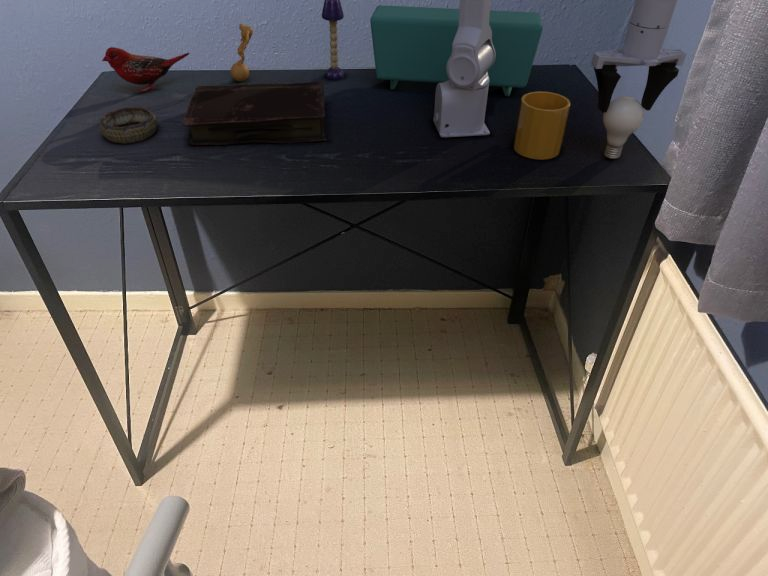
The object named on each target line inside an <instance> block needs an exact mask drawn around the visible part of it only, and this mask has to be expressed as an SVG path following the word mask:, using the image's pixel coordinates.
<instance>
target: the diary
mask: <svg viewBox="0 0 768 576" xmlns="http://www.w3.org/2000/svg"><path fill="white" fill-rule="evenodd" d="M324 90H325V89H324V81H310V82H309V81H308V82H295V83H250V84H235V85H196V87H195V89H194V92H193V94H192V97H191V98H190V101H189V104H188V107H187V109H186V112H185V115H184V119H183V121H182V126H183V127H187V128H190V133H191V134H190V136H189V138H188V140H187V141H186V143H187V144H190V145H194V146H195V145H196V146H197V145H198V146H200V145H201V146H203V145H204V146H206V145H208V146H209V145H211V146H212V145H214V146H217V145H220V146H221V145H222V146H224V145H225V146H226V145H235V144H247V143H249V144H250V143H268V144H269V143H271V144H272V143H273V144H299V143H309V142H320V141H321V142H322V141H327V127H326V125H327V124H326V110H325V109H326V108H325V107H326V106H325V91H324Z"/></svg>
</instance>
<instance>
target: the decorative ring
mask: <svg viewBox="0 0 768 576" xmlns="http://www.w3.org/2000/svg"><path fill="white" fill-rule="evenodd" d="M158 125H159V124H158V119H157V116H156V115H155V114H154V113H153V112H152V111H150V109H146V108H143V107H135V106H134V107H133V106H132V107H123V108H117V109H115V110H113V111H110V112H108V113H106V114H105V115H103V116H102V118H101V119H100V122H99V127H100V128H99V129H100V130H99V131H100V133H101V135H102V136H103V137H104V138H105V139H106V140H107V141H109V142H111V143H114V144H124V145H125V144H134V143H139V142H142V141H145V140H147V139H149V138H151V137H153V136H154V135H155V134H156V132H157V131H158V127H159V126H158Z"/></svg>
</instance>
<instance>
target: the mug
mask: <svg viewBox="0 0 768 576" xmlns="http://www.w3.org/2000/svg"><path fill="white" fill-rule="evenodd" d="M571 105H572V104H571V101H570V99H569V98H568V97H566V96H565V95H562V94H560V93H557V92H556V93H555V92H550V91H541V90H540V91H539V90H538V91H530V92H528V93H525V94H523V95H522V97H521V98H520V103H519V109H518V116H517V122H516V127H515V133H514V138H513V139H514V140H513V149H514V151H515V152H516V153H517V154H519V155H520V156H522V157H525V158H528V159H532V160H540V161H541V160H542V161H543V160H550V159H553V158H556V157H557V156H559V154H560V151H561V149H562V144H563V140H564V136H565V132H566V127H567V124H568V123H567V122H568V118H569V114H570V109H571Z"/></svg>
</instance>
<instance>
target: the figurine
mask: <svg viewBox="0 0 768 576" xmlns="http://www.w3.org/2000/svg"><path fill="white" fill-rule="evenodd" d="M238 29H239V31H240V36H241V38H240V42H241V43H240V44H239V46H238V47H237V55H238V56H239V57H240V60H237V61H236V62H234V63H233V64H232V65H231V67H230V75H231V77H232V79H233V80H235V82H241V83H242V82H245V81H246V80H247V79H249V76H250V70H249V67H248V66H247V65H246V64H245V60H246V57H245V51H246V49H247V46H248V45H249V43H250V40H251V39H252V36H253V33H254V29H253V27H251V26H250V25H245V24H244V23H239V24H238Z"/></svg>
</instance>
